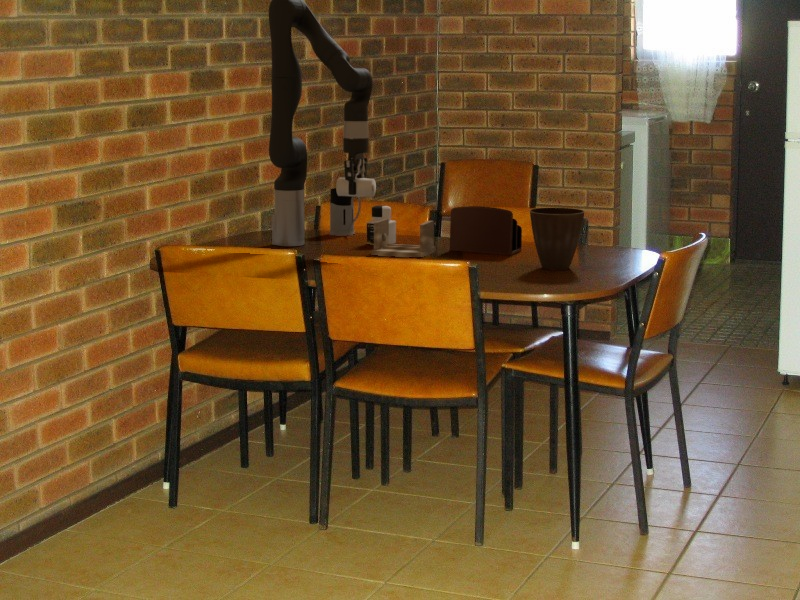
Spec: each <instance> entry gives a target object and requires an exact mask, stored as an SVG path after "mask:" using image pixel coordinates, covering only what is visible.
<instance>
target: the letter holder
mask: <svg viewBox="0 0 800 600" xmlns="http://www.w3.org/2000/svg"><path fill="white" fill-rule="evenodd" d="M449 219H450V222H449V223H450V226H449V227H450V228H449V229H450V230H449V251H450V252H461V253H476V254H488V255H489V254H490V255H501V256H513V255H514V254H515V255H516V254H518V253H519V252H521V251H522V248H523V247H522V246H523V245H522V244H523V243H522V242H523V241H522V240H523V239H522V237H523V229H522V226H521V225H518V220H517V219H515V218H514V214H513V212H512V211H511V210H508V209H504V208H499V207H491V206H480V205H479V206H475V205H474V206H469V205H468V206H457V207H452V208H451V210H450V218H449Z"/></svg>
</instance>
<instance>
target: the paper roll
mask: <svg viewBox="0 0 800 600" xmlns="http://www.w3.org/2000/svg"><path fill="white" fill-rule="evenodd" d="M335 188H336V191H337V194H338V196H354V198H355V197H357V198H358V197H360V198H374V197H375V195H376V192H377V183H376V179H375V178H367V177H365V178H357V180H356V195H349V182H348V181H347V180H345V177H341V176H339V177H338V178H337V180H336V186H335Z"/></svg>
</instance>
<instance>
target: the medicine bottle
mask: <svg viewBox="0 0 800 600" xmlns="http://www.w3.org/2000/svg"><path fill="white" fill-rule="evenodd" d="M383 219H389V244H397V243H396V242H397V221H396V220H394V219H393V220H392V208H391V206H388V205H381V204H379V205H374V206H372V207H371V220H370V221H367V222H366V245H367V244H370V245H369V246H371V245H372V246H374V222H377V221H380V220H383Z"/></svg>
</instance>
